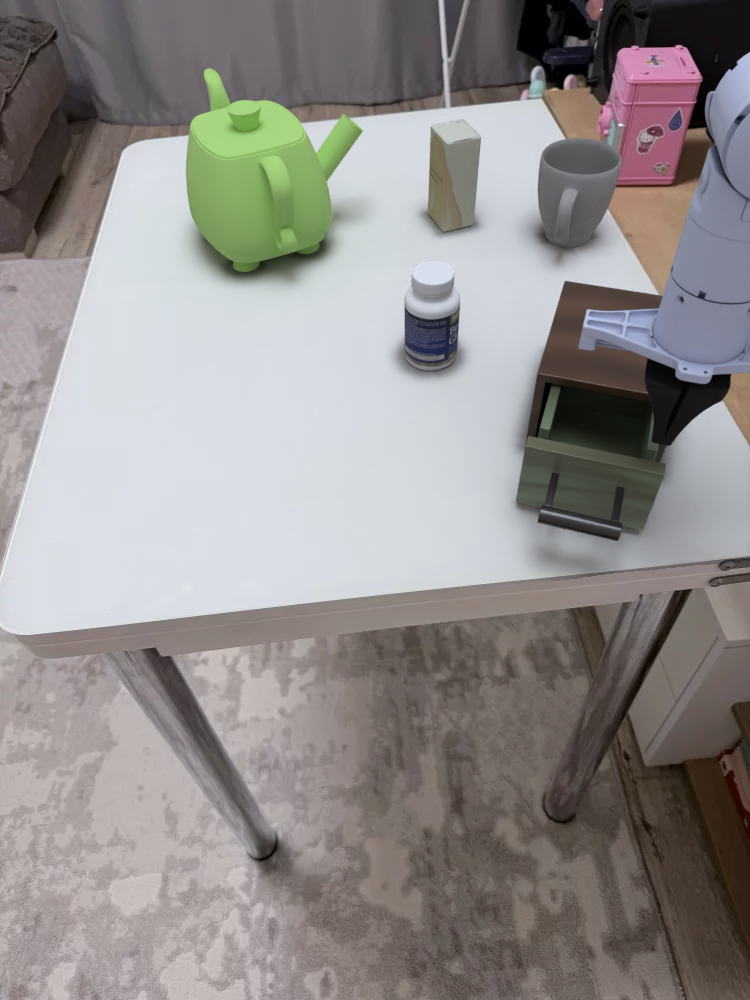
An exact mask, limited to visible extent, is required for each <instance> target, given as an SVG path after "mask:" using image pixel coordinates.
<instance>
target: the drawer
mask: <svg viewBox="0 0 750 1000" xmlns="http://www.w3.org/2000/svg"><path fill="white" fill-rule="evenodd" d="M653 425H654V416H653V409H652V404H651V402H650V401H645V400H639V399H634V398H629V397H623V396H618V395H612V394H607V393H602V392H596V391H591V390H585V389H580V388H575V387H569V386H564V385H559V384H553V383H552V385H551V389H550V393H549V396H548V400H547V404H546V407H545V411H544V415H543V418H542V422H541V426H540V430H539V435H538V438H536V437H531V436H528V438H527V442H526V441H525V443H526V445H525V444H524V445H525V446H524V451H523V457H522V461H521V462H522V463H521V469H520V475H519V479H518V487H517V492H516V498H515V502H516V503H521V504H524V505H529V506H533V507H538V508H539V512H538V516H537V521H536V523H537V524H540V525H543V526H549V527H552V528H558V529H561V530H562V529H563V530H566V531H570V532H574V533H579V534H584V535H587V536H592V537H595V538H600V539H605V540H610V541H613V542H619V541H620V538H621V534H622V530H623V527H627V528H630V529H635V530H640V531H643V530H644V529H645V527H646V524H647V521H648V519H649V516H650V514H651V512H652V510H653V507H654V504H655V501H656V499H657V497H658V493H659V491H660V489H661V486H662V483H663V481H664V479H665V476H666V471H667V470H666V469H667V463H663V462H660V463H659V462H654V460H655V457H656V454H657V452H658V445H659V444H656V443H652V442H651V441H652V433H653Z"/></svg>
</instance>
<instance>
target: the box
mask: <svg viewBox="0 0 750 1000" xmlns="http://www.w3.org/2000/svg"><path fill="white" fill-rule="evenodd" d="M429 138H430V139H429V164H428V165H429V166H428V167H429V170H428V196H427V197H428V198H427V214H428V215H429V217H430V218H431V219H432V221H434V223H435V224H436V226H438V228H439V229H440V230H441V231H442V232H443V233H446V232H450V231H455V230H460V229H462V228H466V227H467V228H468V227H471V226H474V224H475V212H476V202H477V201H476V200H477V191H478V180H479V179H478V177H479V166H480V157H481V156H480V154H481V144H482V136H481V134H480V133H478V132H477V131H476V129H474V128H473V126H471V125H470V124H469V123H468V122H467V121H466V120H465V119H464V118H460V119H454V120H451V121H445V122H439V123H436V124H432V125H430V137H429Z"/></svg>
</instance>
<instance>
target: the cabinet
mask: <svg viewBox="0 0 750 1000" xmlns="http://www.w3.org/2000/svg"><path fill="white" fill-rule="evenodd" d="M662 297H663V295H660V294H654V293H648V292H641V291H634V290H628V289H621V288H615V287H607V286H602V285H595V284H588V283H582V282H576V281H569V280H564V282H563V285H562V288H561V292H560V296H559V299H558V302H557V306H556V308H555V312H554V315H553V319H552V321H551V325H550V329H549V333H548V336H547V339H546V343H545V346H544V350H543V353H542V356H541V360H540V363H539V366H538V370H537V373H536V379H535V383H534V384H535V385H534V389H533V390H534V391H533V397H532V402H531V409H530V412H529V413H530V414H529V420H528V426H527V431H526V437H525V443H524V445H526V442H527V438H528V436H531V437H536V438H538V435H539V430H540V426H541V422H542V418H543V415H544V411H545V407H546V404H547V400H548V396H549V393H550V389H551V385H552V383H553V384H559V385H564V386H569V387H575V388H580V389H585V390H591V391H596V392H602V393H607V394H612V395H618V396H623V397H629V398H634V399H639V400H645V401H650V402H651V400H650V397H649V394H648V392H647V390H646V386H645V369H646V363H647V357H644V356H642V355H639V354H637V353H634V352H632V351H626V350H620V349H614V348H608V347H602V346H596V347H595V350H593V351H589V350H583V349H579V348H578V347H579V342H580V337H581V332H582V328H583V323H584V319H585V315H586V311H587V310H588V309H590V310H598V311H624V310H642V309H659V307H660V303H661V300H662ZM667 447H668V446H667V445H662V444H659V445H658V452H657V454H656V457H655V460H654V462H659V463H662V459H663V457H664V454H665V451H666V449H667Z"/></svg>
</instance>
